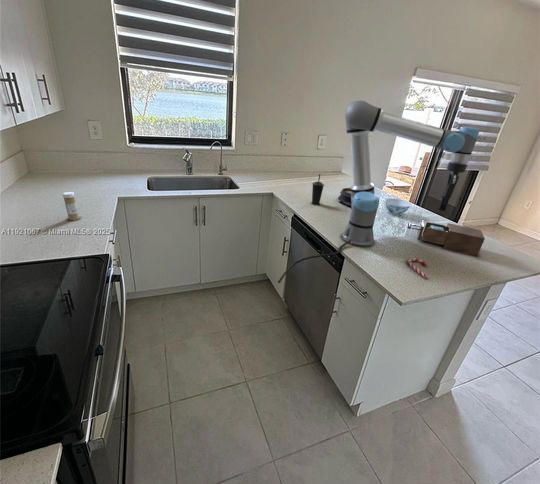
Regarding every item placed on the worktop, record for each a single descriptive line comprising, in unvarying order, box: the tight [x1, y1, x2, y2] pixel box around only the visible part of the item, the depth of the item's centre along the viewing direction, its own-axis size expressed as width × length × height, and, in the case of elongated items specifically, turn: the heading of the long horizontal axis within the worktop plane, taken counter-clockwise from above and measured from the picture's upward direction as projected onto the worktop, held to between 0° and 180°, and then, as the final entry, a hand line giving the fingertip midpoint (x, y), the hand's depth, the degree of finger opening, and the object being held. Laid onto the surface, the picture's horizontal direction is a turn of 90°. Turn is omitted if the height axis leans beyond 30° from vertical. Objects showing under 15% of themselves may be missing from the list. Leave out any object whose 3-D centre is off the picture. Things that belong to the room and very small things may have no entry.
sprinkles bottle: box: [62, 191, 80, 221], centre depth 141 cm, size 5×5×13 cm
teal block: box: [430, 225, 444, 230], centre depth 148 cm, size 4×6×6 cm
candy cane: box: [407, 257, 428, 279], centre depth 123 cm, size 8×1×15 cm
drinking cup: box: [311, 173, 325, 206], centre depth 188 cm, size 8×8×20 cm
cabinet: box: [442, 222, 486, 257], centre depth 144 cm, size 15×12×10 cm
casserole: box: [337, 187, 352, 207], centre depth 198 cm, size 25×19×8 cm
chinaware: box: [384, 198, 411, 217], centre depth 184 cm, size 15×15×8 cm
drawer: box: [407, 219, 449, 246], centre depth 150 cm, size 19×10×8 cm, turn 64°
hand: (441, 210), depth 143 cm, fingers closed
